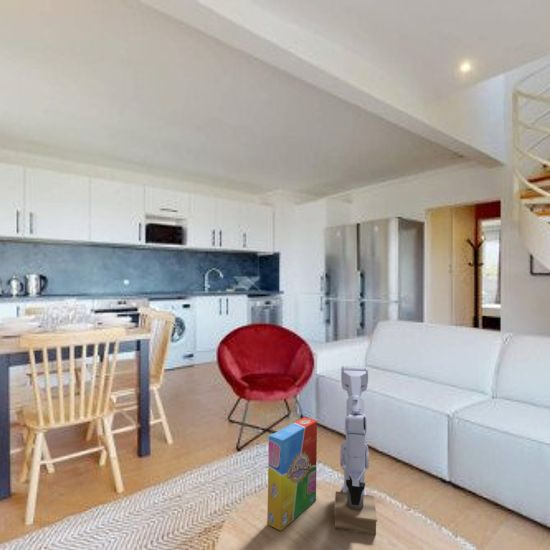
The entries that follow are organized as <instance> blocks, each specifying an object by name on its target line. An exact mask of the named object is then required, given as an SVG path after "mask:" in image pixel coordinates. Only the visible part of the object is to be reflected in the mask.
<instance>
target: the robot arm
mask: <svg viewBox="0 0 550 550" xmlns="http://www.w3.org/2000/svg"><path fill="white" fill-rule="evenodd" d="M340 372H341V373H340V374H341V377H340V379H341V380H340V381H341V389H342V390H343V391H346V393H347V396H348V398H347V399H346V415H345V417H344V431H345V440H343V441H342V442H341V444H340V450H339V451H340V456H339V458H340V459H339V461H340V462H339V465H340V466H341V468H342V471H343V483H342V492H345V493H347V490H348V489H349V492H350V498H351V503H352V505H359V503H360V498H361V494H362V491H363V493H364V495H367V493H366V490H367V489H366V470H368V469H369V467H370V453H369V446H368V444H367V443H365V442H366V435H367V427H368V426H367V423H368V422H367V417H366V412H365V401H364V399H363V398H362V397H361V396H362V393H363V392H365V391H367V388H368V383H369V369H368V367H367V366H349V365H348V366H347V365H342V366H341V371H340Z"/></svg>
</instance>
